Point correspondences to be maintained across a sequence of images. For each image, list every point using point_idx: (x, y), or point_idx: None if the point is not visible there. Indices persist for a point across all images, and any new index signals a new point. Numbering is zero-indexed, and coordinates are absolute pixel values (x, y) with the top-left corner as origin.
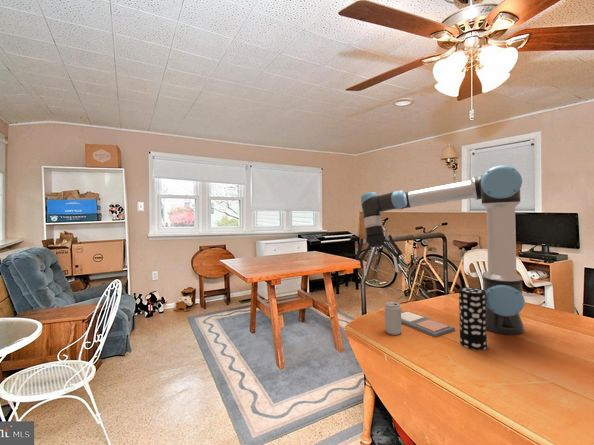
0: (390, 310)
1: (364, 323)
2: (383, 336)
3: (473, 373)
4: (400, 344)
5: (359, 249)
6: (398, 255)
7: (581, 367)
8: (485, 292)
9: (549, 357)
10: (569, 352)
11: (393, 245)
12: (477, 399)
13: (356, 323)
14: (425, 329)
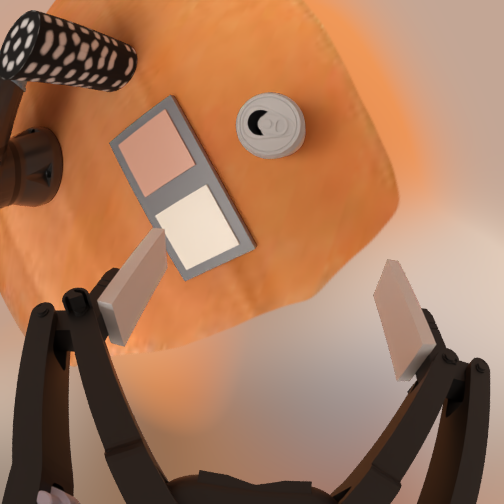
0: (289, 98)
1: (352, 216)
2: (320, 107)
3: None
4: (286, 55)
5: (478, 448)
6: (68, 291)
7: None
8: (7, 34)
9: None
10: None
11: (41, 402)
12: None
13: (378, 220)
14: (182, 127)
